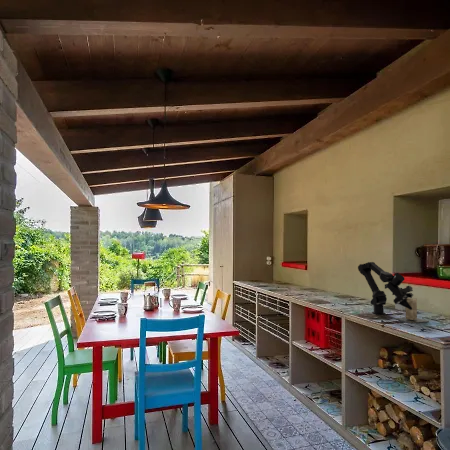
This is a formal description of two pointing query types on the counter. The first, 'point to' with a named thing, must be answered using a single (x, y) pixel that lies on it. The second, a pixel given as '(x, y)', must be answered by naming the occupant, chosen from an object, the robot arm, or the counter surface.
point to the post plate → (411, 320)
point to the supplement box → (400, 307)
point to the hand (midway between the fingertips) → (413, 308)
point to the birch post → (413, 312)
